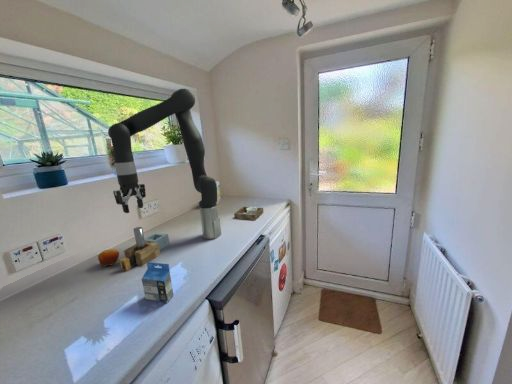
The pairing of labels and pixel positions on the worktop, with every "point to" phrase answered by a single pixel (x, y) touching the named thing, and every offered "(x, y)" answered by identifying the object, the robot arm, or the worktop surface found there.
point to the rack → (158, 239)
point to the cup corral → (248, 216)
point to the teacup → (251, 210)
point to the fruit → (108, 257)
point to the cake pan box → (218, 192)
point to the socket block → (143, 252)
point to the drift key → (128, 262)
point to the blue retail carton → (157, 282)
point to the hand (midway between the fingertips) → (134, 210)
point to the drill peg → (139, 238)
